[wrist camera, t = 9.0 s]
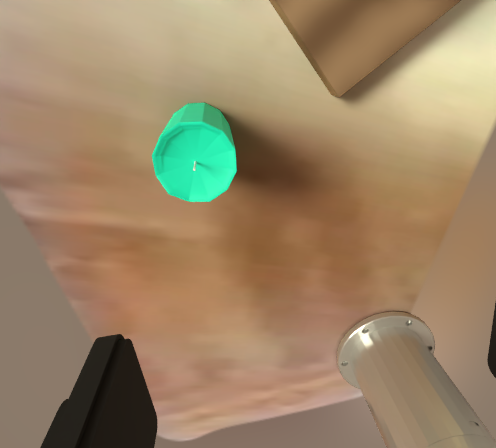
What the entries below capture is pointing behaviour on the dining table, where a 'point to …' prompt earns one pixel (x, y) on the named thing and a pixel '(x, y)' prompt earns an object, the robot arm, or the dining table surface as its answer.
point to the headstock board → (355, 33)
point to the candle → (195, 154)
